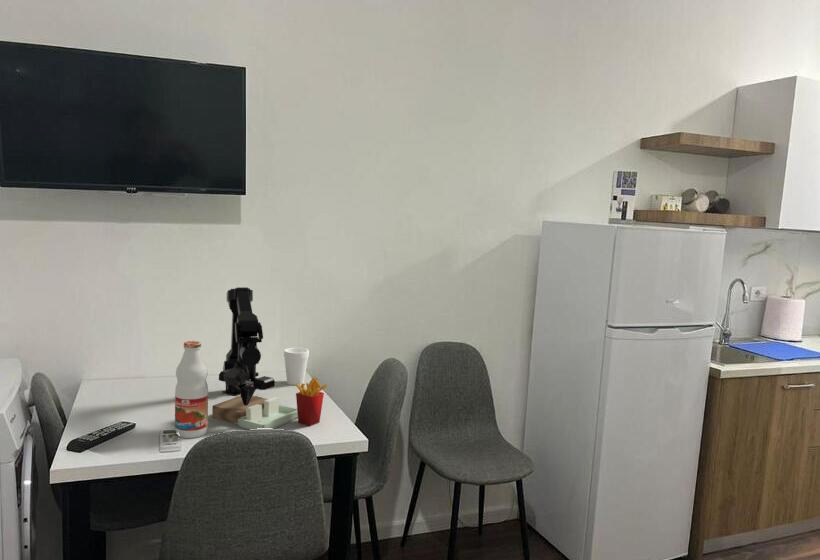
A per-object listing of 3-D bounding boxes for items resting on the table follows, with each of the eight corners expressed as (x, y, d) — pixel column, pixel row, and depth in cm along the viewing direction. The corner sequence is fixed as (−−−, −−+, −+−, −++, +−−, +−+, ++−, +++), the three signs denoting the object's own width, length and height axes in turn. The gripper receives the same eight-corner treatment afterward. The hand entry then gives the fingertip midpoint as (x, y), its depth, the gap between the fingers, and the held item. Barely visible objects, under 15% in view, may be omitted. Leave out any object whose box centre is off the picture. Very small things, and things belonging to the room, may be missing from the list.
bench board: (212, 417, 215) (212, 405, 214) (245, 405, 229) (246, 393, 228) (240, 424, 209) (241, 412, 209) (273, 411, 224) (273, 400, 223)
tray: (237, 426, 208) (237, 418, 208) (276, 410, 225) (276, 403, 225) (264, 433, 203) (264, 425, 203) (301, 416, 220) (301, 409, 220)
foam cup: (305, 387, 254) (306, 353, 252) (281, 385, 254) (282, 352, 252) (309, 380, 263) (310, 348, 262) (286, 379, 263) (287, 347, 262)
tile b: (245, 408, 209) (250, 408, 208) (257, 404, 213) (261, 405, 212) (246, 423, 209) (251, 424, 208) (257, 419, 213) (262, 420, 212)
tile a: (264, 400, 217) (269, 401, 216) (274, 397, 221) (278, 398, 220) (263, 415, 218) (268, 416, 217) (273, 411, 222) (278, 412, 221)
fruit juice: (213, 429, 204) (214, 340, 201) (198, 440, 195) (199, 347, 191) (184, 426, 206) (185, 338, 202) (168, 436, 196) (169, 344, 193)
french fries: (293, 423, 214) (295, 377, 212) (310, 416, 221) (312, 372, 219) (315, 429, 209) (316, 383, 207) (331, 422, 216) (333, 377, 214)
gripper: (206, 357, 208) (205, 406, 210) (252, 367, 200) (251, 417, 201) (231, 351, 218) (230, 397, 220) (276, 360, 209) (275, 408, 211)
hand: (245, 405), depth 213 cm, fingers closed
